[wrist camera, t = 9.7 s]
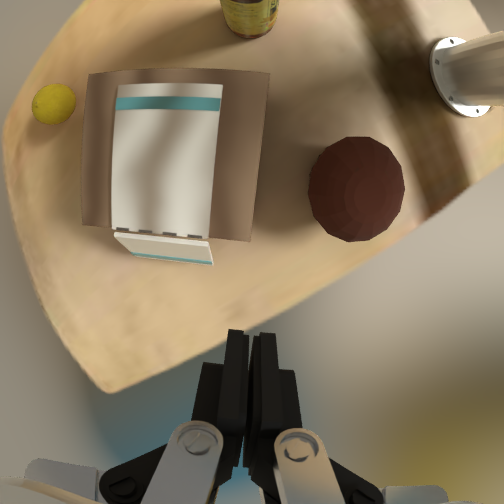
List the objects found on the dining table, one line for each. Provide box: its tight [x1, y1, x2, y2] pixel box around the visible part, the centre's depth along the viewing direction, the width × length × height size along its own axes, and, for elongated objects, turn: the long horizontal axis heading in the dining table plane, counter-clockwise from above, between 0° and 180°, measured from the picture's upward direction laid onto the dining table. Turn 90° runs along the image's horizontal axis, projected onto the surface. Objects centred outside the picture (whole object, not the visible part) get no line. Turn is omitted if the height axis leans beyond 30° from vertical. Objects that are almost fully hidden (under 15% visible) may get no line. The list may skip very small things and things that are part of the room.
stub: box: [114, 232, 213, 266], centre depth 33 cm, size 10×8×1 cm
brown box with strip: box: [81, 68, 270, 242], centre depth 30 cm, size 18×16×11 cm
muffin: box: [308, 137, 405, 242], centre depth 32 cm, size 12×11×10 cm
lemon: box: [32, 84, 76, 125], centre depth 29 cm, size 6×6×8 cm
